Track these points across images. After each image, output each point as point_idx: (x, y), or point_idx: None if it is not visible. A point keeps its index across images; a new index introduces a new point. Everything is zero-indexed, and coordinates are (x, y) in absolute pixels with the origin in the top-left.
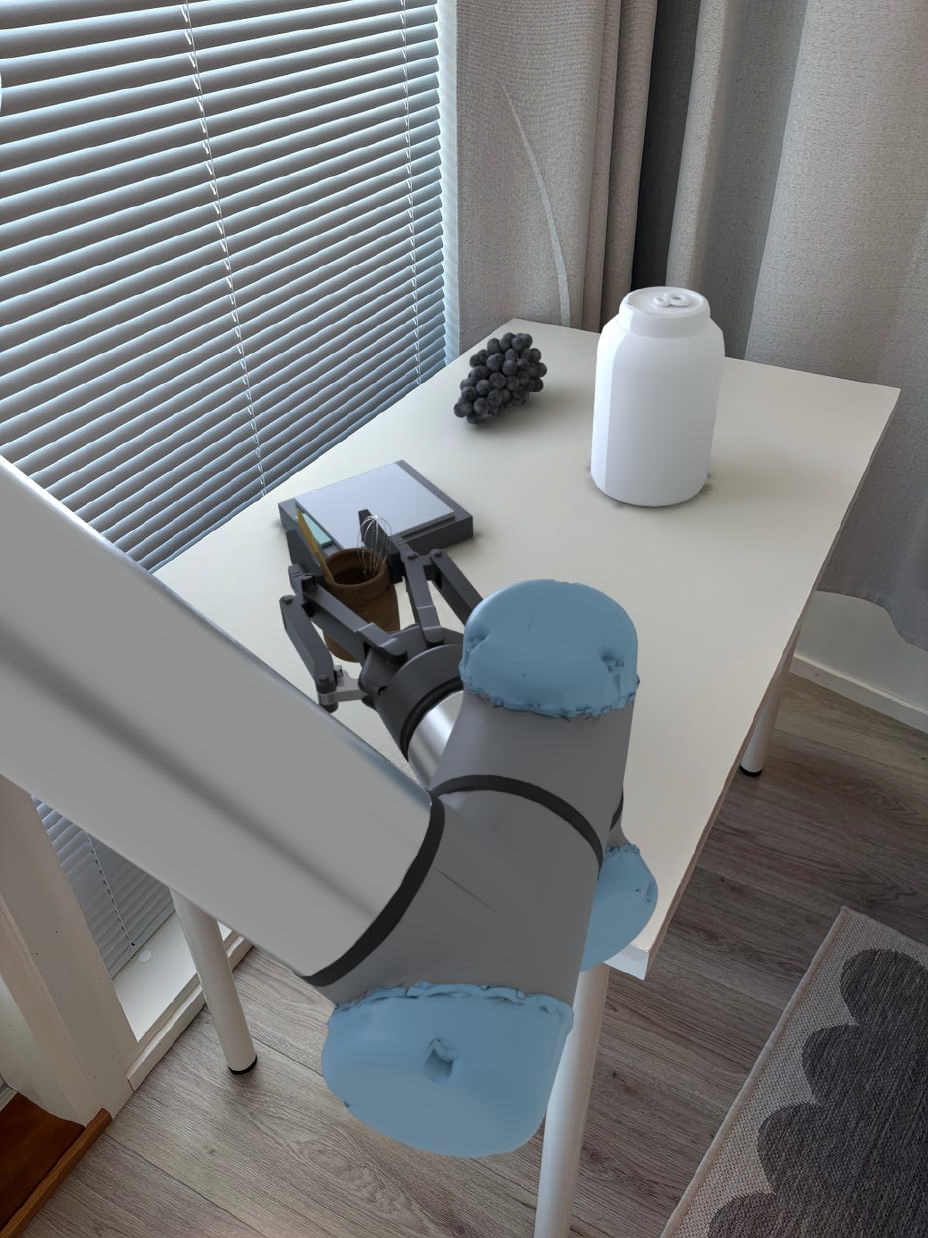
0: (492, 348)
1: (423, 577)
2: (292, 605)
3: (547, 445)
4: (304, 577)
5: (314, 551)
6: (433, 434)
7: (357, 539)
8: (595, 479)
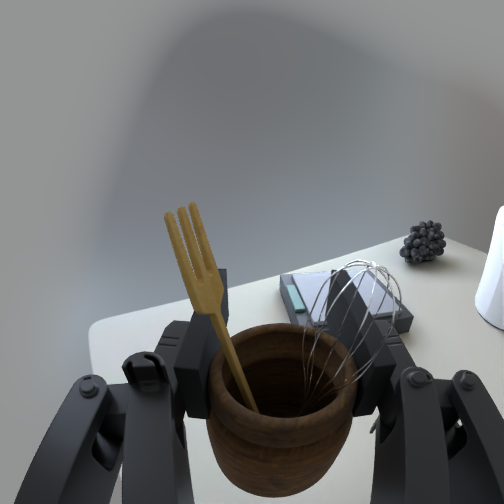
0: (422, 226)
1: (442, 456)
2: (82, 406)
3: (447, 283)
4: (139, 359)
5: (198, 308)
6: (385, 263)
7: (324, 313)
8: (480, 307)
